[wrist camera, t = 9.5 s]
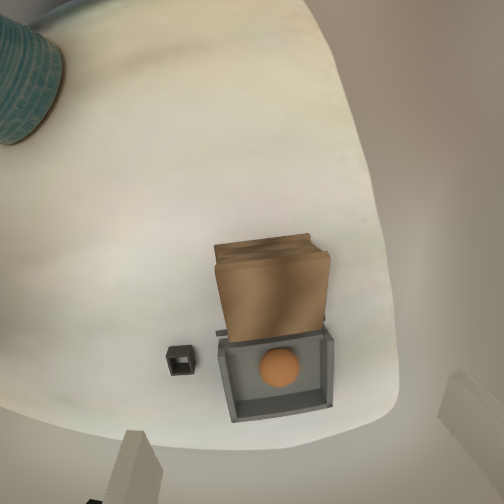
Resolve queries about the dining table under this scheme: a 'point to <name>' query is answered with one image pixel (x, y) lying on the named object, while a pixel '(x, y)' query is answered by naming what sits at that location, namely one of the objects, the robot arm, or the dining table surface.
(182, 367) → the dark open box
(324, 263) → the wooden cubby
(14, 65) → the vase
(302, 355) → the bin
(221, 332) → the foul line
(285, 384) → the ball
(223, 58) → the dining table surface
